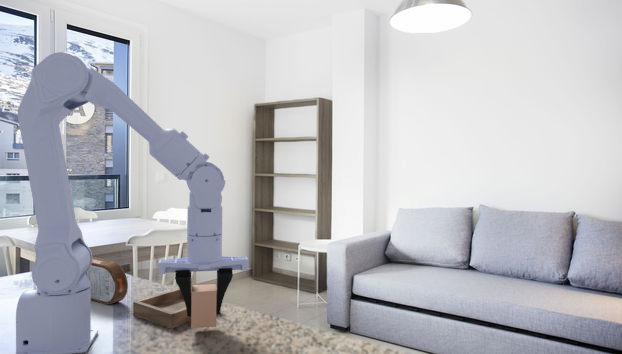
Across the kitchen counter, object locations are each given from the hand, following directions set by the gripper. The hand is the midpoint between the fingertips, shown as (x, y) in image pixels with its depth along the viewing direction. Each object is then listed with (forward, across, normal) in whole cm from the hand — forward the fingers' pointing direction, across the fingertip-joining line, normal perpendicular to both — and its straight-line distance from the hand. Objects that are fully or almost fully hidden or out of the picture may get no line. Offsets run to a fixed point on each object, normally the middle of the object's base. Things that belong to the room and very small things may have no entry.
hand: (203, 313), depth 72 cm
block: (+2, 0, 0) cm, 2 cm away
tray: (+3, -5, +10) cm, 12 cm away
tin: (+3, -21, +21) cm, 30 cm away
